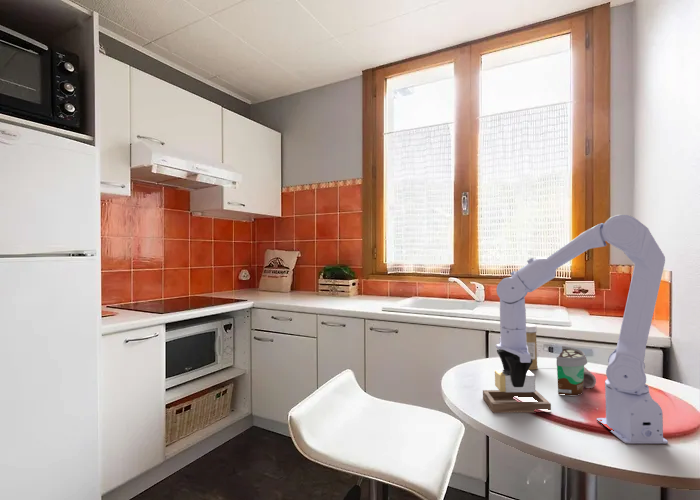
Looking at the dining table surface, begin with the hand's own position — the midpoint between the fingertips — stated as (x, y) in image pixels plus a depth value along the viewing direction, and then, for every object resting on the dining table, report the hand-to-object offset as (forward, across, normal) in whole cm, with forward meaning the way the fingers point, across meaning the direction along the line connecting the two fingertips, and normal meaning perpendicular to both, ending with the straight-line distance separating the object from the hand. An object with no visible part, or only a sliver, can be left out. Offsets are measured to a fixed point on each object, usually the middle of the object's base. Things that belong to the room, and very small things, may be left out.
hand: (514, 382), depth 88 cm
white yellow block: (+1, 0, 0) cm, 1 cm away
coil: (+6, -18, +24) cm, 30 cm away
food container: (+6, -8, +18) cm, 20 cm away
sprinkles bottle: (+6, -26, +14) cm, 30 cm away
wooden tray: (+5, 0, 0) cm, 5 cm away
